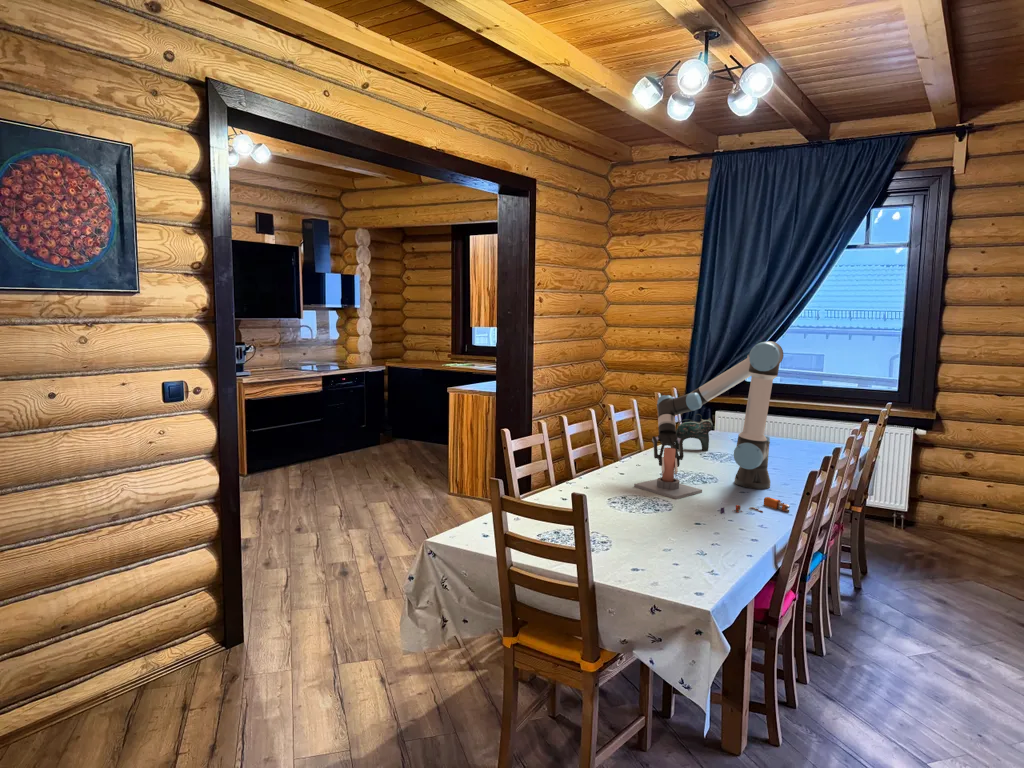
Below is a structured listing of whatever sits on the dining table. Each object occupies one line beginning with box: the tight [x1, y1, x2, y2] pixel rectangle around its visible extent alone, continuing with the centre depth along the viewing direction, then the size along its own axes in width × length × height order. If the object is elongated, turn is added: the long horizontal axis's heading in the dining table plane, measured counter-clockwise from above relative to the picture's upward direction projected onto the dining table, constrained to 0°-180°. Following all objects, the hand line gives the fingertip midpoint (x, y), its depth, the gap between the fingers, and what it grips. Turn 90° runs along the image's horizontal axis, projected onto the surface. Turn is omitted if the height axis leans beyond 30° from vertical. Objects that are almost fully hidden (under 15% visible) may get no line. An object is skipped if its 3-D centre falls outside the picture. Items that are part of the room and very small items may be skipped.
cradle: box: [633, 476, 703, 500], centre depth 288 cm, size 22×18×4 cm
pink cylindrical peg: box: [661, 447, 676, 482], centre depth 288 cm, size 5×5×14 cm
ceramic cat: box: [675, 413, 713, 452], centre depth 372 cm, size 20×6×20 cm, turn 80°
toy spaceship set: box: [714, 496, 791, 521], centre depth 258 cm, size 11×35×4 cm, turn 121°
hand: (669, 472), depth 284 cm, fingers closed on pink cylindrical peg, 5 cm apart
